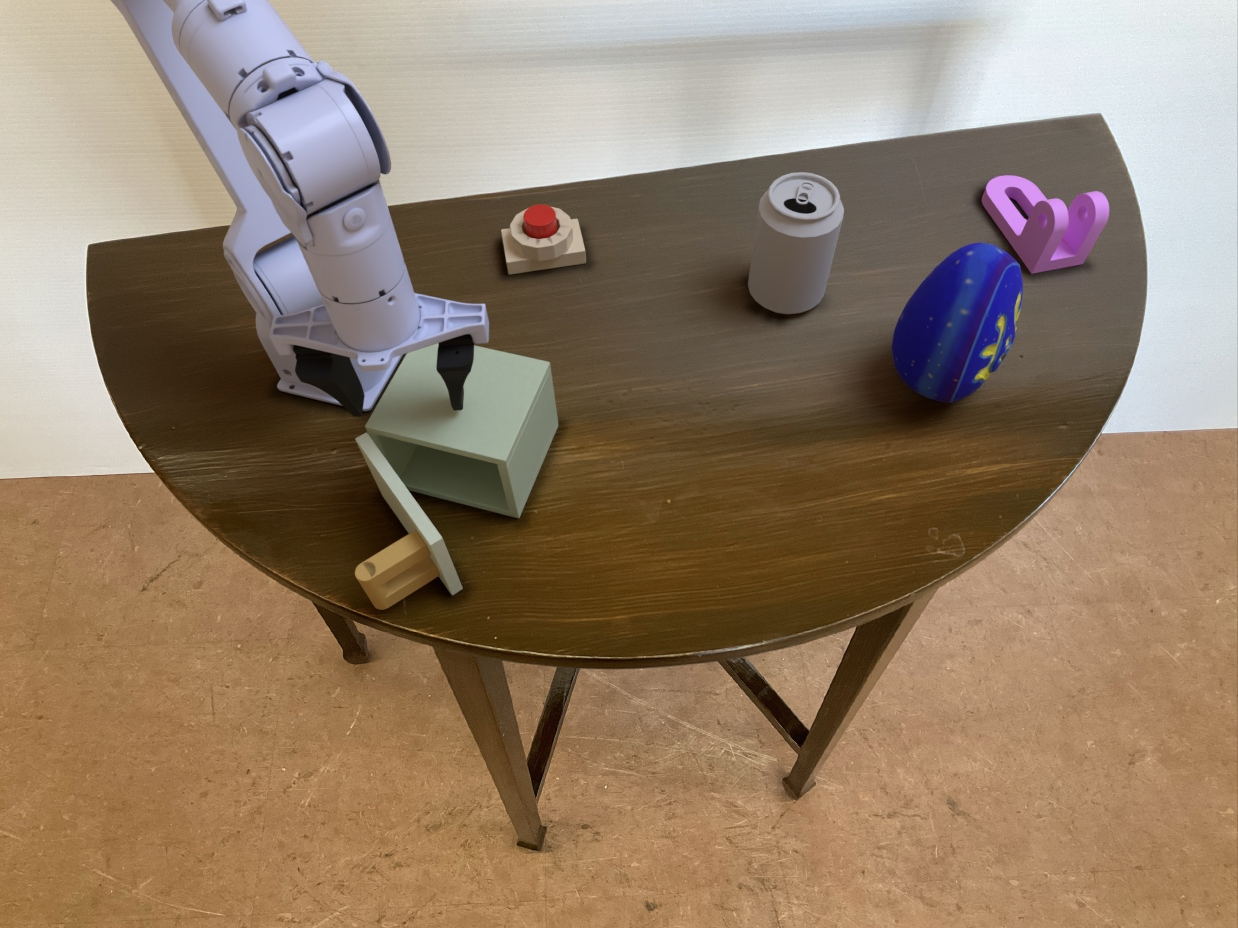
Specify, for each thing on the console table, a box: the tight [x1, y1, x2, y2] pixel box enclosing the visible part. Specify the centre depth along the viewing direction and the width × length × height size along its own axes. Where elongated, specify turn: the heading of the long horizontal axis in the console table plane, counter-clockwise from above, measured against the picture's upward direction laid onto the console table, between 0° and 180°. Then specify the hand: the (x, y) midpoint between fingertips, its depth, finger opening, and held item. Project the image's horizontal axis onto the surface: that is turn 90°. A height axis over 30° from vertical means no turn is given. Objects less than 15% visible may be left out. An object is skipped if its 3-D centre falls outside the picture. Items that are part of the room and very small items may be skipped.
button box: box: [500, 206, 587, 276], centre depth 87 cm, size 8×6×4 cm
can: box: [747, 171, 845, 315], centre depth 79 cm, size 8×8×12 cm
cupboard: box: [364, 343, 559, 519], centre depth 71 cm, size 10×12×9 cm
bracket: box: [981, 174, 1110, 274], centre depth 86 cm, size 13×6×7 cm, turn 13°
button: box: [523, 204, 557, 239], centre depth 85 cm, size 3×3×2 cm
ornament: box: [891, 242, 1024, 404], centre depth 72 cm, size 11×9×15 cm
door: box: [354, 432, 464, 611], centre depth 65 cm, size 6×12×8 cm, turn 37°
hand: (408, 403), depth 66 cm, fingers open, 7 cm apart
